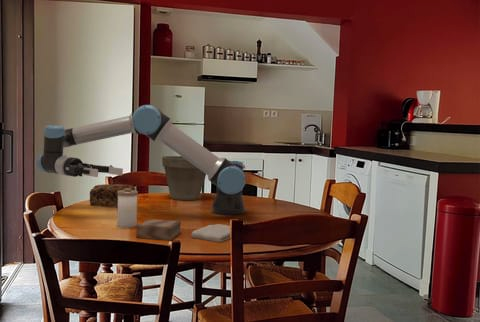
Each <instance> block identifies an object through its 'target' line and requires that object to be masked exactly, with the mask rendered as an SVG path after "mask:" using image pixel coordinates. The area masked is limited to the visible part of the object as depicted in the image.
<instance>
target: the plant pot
mask: <svg viewBox="0 0 480 322" xmlns="http://www.w3.org/2000/svg"><path fill="white" fill-rule="evenodd" d="M161 159H162V160H161V163H162V167H163V169H164V174H165V178H166V182H167V183H166V184H167V186H168V192H169V196H170V199H172V200H178V201H196V200H199V199H200V196H201V192H202V191H203V190H202V189H203V186H204V183H205V181H206V176H207V174H206V173H204V172H203V171H201V170H200V169H199V168H197V167H196V166H194V165H193V164H192V163H190V162H189V161H187V160H186V159H185V158H183V157H182V156H180V155H170V156H169V155H168V156H167V155H166V156H162V157H161Z"/></svg>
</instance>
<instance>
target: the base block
mask: <svg viewBox="0 0 480 322" xmlns="http://www.w3.org/2000/svg"><path fill="white" fill-rule="evenodd" d="M180 233H181V221H179V220H169V219H168V220H167V219H153V218H152V219H151V218H148V219H146V220H145V221H143V222H141V223H140V224H137V225H136V239H137V238H138V239H148V240H162V241H163V240H164V241H172V240H173V239H174V238H175V237H177V236H178V235H179V234H180Z"/></svg>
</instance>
